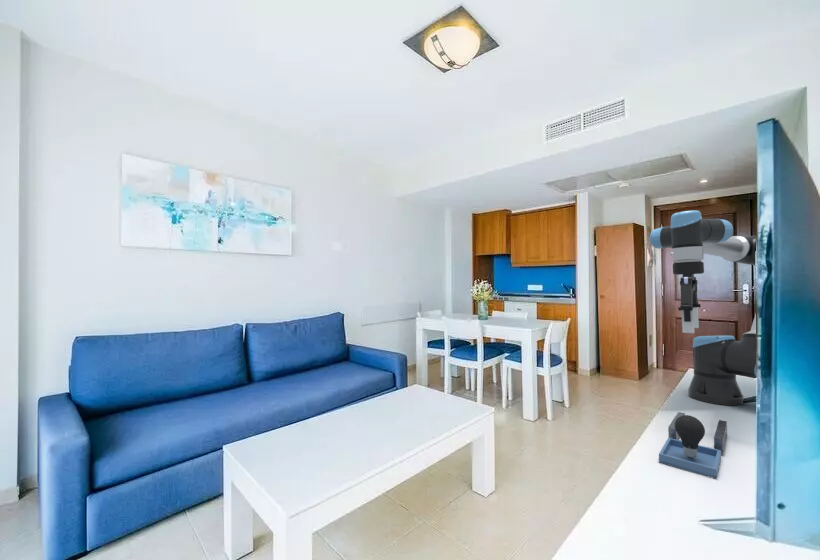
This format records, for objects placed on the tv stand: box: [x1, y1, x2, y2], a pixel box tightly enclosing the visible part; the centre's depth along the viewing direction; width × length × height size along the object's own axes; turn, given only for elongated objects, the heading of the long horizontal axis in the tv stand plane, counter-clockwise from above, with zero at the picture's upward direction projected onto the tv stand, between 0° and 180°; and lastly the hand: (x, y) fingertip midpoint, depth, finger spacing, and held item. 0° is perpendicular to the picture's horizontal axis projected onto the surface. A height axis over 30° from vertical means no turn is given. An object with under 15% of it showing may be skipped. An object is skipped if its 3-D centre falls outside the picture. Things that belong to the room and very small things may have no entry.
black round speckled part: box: [675, 414, 706, 459], centre depth 82 cm, size 6×6×10 cm
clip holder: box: [667, 411, 728, 457], centre depth 93 cm, size 16×11×4 cm
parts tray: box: [658, 437, 722, 479], centre depth 82 cm, size 12×10×2 cm
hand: (691, 330), depth 107 cm, fingers open, 13 cm apart
